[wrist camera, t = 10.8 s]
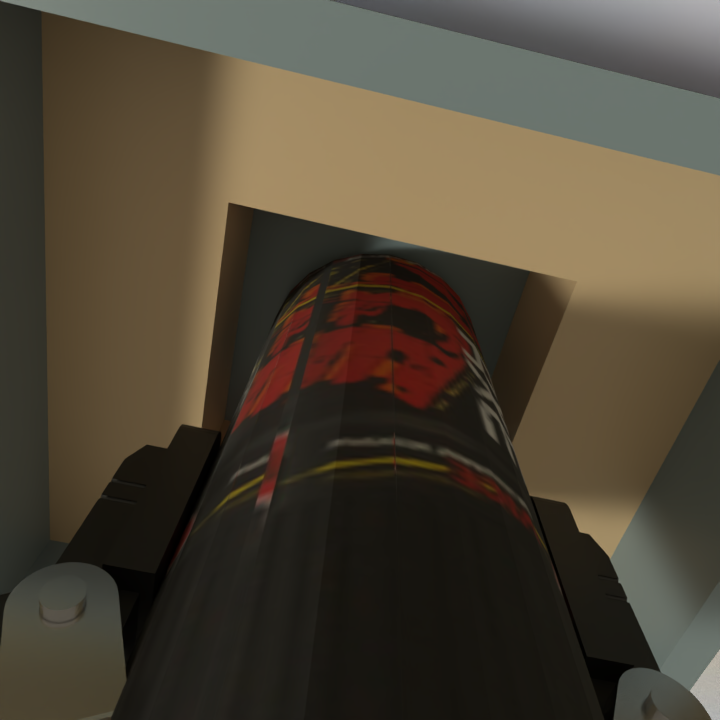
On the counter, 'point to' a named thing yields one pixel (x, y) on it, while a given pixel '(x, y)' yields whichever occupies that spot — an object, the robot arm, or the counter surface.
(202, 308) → the bin
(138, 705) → the deodorant
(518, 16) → the counter surface
